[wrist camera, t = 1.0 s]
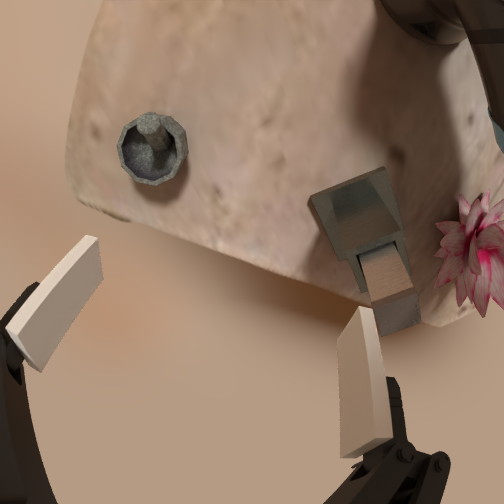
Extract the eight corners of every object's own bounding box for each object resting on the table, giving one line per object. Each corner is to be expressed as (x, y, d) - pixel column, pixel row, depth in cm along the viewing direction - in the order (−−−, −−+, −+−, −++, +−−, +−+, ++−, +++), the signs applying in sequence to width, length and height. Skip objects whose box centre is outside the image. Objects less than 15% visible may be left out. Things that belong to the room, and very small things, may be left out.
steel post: (371, 201, 39) (417, 293, 23) (379, 225, 41) (421, 322, 25) (343, 211, 41) (372, 309, 25) (353, 235, 43) (381, 336, 27)
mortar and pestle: (180, 179, 43) (148, 215, 33) (132, 152, 41) (89, 180, 31) (214, 117, 37) (186, 134, 27) (159, 89, 35) (116, 98, 25)
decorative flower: (466, 148, 33) (524, 185, 21) (522, 214, 36) (564, 258, 24) (395, 247, 45) (423, 310, 33) (461, 290, 48) (488, 344, 36)
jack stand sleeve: (383, 166, 38) (415, 203, 27) (402, 231, 43) (430, 281, 32) (310, 195, 42) (316, 242, 31) (338, 256, 47) (348, 311, 37)
